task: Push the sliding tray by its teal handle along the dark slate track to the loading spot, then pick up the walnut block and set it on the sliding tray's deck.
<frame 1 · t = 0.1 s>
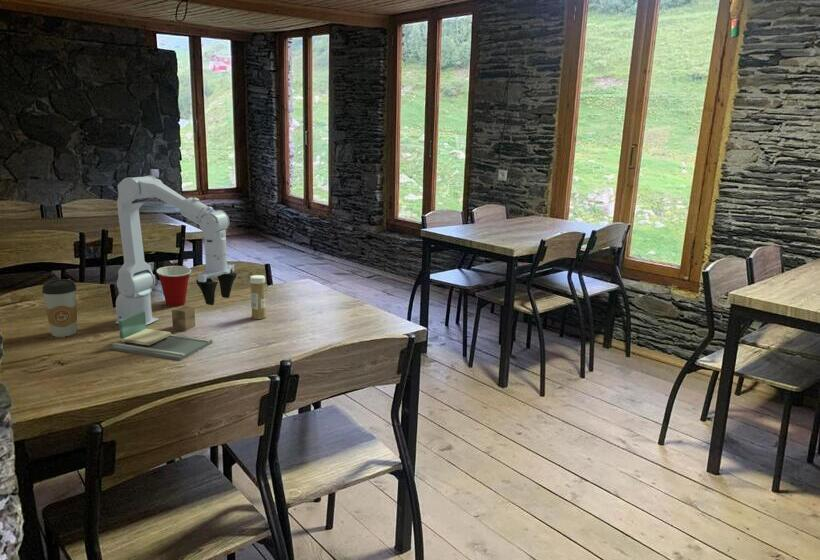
hand: (217, 300, 173), 10 cm above the table, tool pointing down, fingers open, 7 cm apart
walnut block: (184, 327, 180), on the table
coffee cup: (64, 334, 171), on the table
sliding tray: (145, 328, 165), point 4 cm above the table, slide at 0.0 cm
plastic cup: (176, 304, 202), on the table
track board: (162, 345, 165), on the table
sprinkles bottle: (258, 318, 192), on the table
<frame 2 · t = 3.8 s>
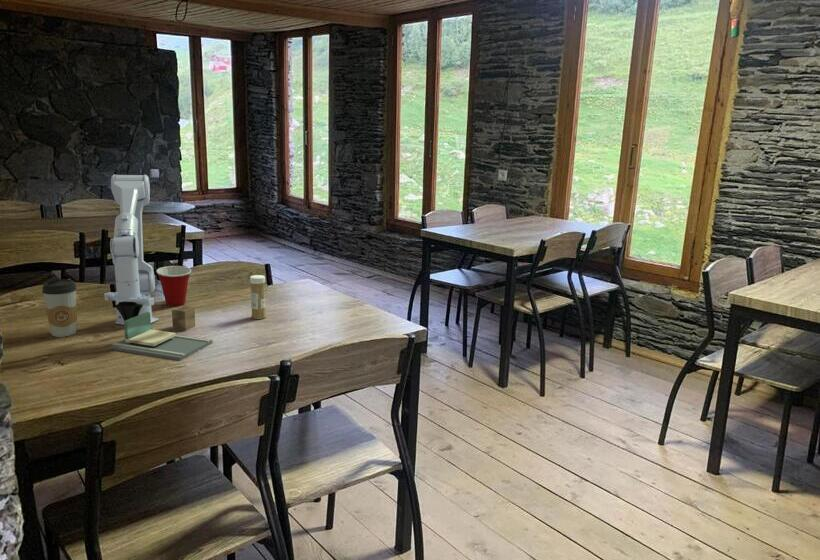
hand: (131, 327, 167), 4 cm above the table, tool pointing down, fingers closed
sliding tray: (150, 329, 165), point 4 cm above the table, slide at 1.6 cm, touching gripper
everything else where it was.
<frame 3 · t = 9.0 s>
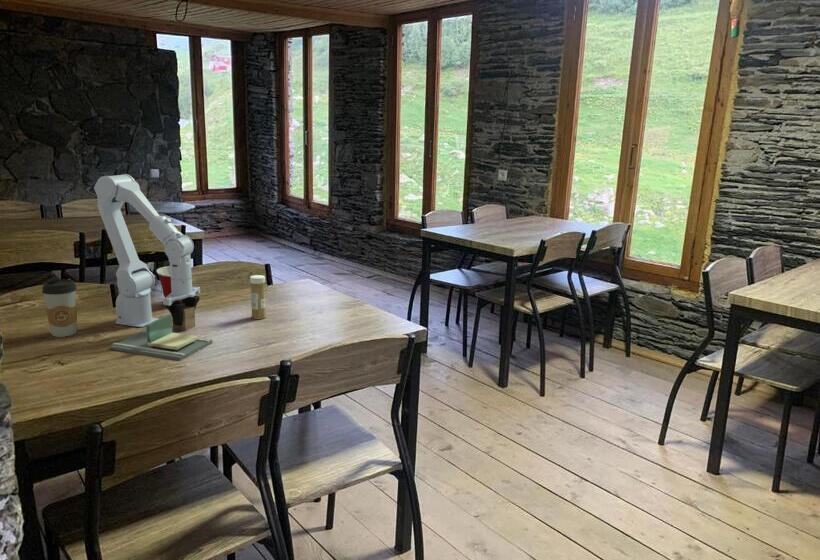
hand: (183, 322, 180), 2 cm above the table, tool pointing down, fingers closed on walnut block, 4 cm apart
walnut block: (184, 327, 180), on the table, touching gripper
sliding tray: (172, 332, 163), point 4 cm above the table, slide at 8.7 cm
everything else where it was.
when the fingers open (5 cm above the table, at t = 13.4 s): walnut block stays where it is, resting on sliding tray.
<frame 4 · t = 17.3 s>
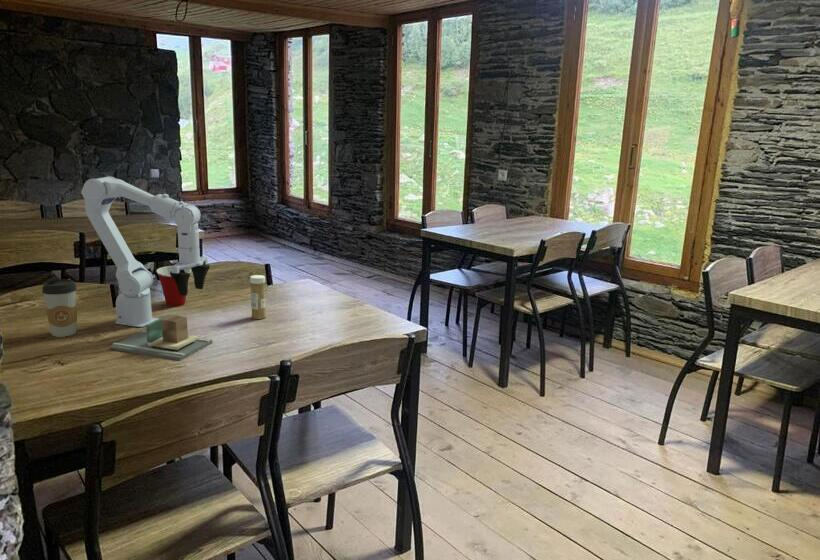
hand: (191, 291, 180), 10 cm above the table, tool pointing down, fingers open, 7 cm apart
walnut block: (175, 339, 163), point 2 cm above the table, touching sliding tray
sliding tray: (172, 332, 163), point 4 cm above the table, slide at 8.7 cm, touching walnut block
everything else where it was.
at the end: sliding tray slide at 8.7 cm; walnut block 0.2 cm off-centre on the sliding tray, point 2.4 cm above the sliding tray's base; walnut block tilted 0° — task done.
